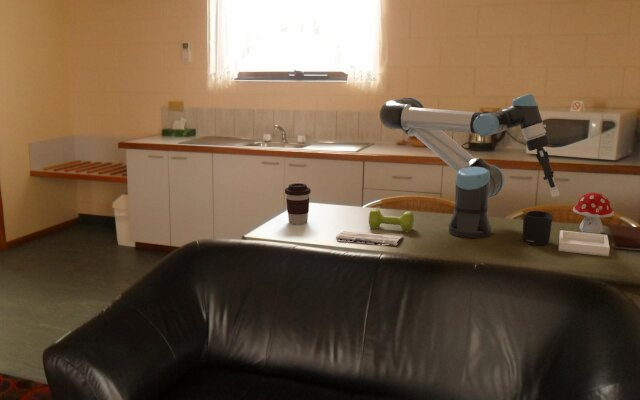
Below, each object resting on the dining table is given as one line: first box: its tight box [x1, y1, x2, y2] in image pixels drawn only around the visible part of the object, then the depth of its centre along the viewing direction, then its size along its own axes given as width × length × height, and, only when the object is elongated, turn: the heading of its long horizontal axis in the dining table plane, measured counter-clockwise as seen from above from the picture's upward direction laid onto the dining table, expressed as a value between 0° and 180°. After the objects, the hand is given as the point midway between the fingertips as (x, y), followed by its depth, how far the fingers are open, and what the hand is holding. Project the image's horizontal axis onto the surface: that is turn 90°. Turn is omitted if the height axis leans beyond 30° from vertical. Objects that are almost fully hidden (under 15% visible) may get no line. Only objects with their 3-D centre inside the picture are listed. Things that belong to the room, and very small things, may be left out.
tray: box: [558, 229, 611, 257], centre depth 198 cm, size 15×15×3 cm
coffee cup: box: [284, 182, 312, 225], centre depth 227 cm, size 10×10×15 cm
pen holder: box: [522, 210, 554, 246], centre depth 202 cm, size 9×9×10 cm
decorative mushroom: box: [572, 192, 615, 234], centre depth 212 cm, size 14×14×15 cm
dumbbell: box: [368, 208, 415, 233], centre depth 219 cm, size 16×8×7 cm, turn 71°
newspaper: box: [335, 230, 404, 246], centre depth 207 cm, size 23×12×2 cm, turn 70°
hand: (555, 194), depth 208 cm, fingers open, 13 cm apart
